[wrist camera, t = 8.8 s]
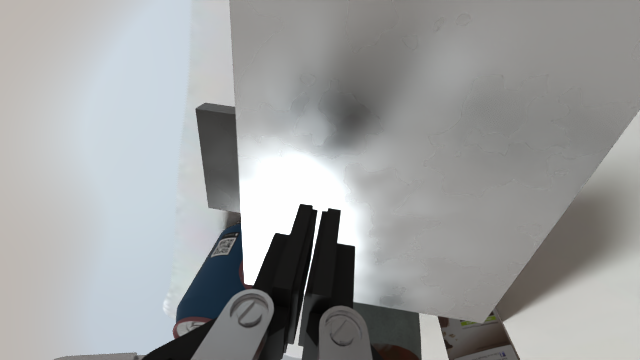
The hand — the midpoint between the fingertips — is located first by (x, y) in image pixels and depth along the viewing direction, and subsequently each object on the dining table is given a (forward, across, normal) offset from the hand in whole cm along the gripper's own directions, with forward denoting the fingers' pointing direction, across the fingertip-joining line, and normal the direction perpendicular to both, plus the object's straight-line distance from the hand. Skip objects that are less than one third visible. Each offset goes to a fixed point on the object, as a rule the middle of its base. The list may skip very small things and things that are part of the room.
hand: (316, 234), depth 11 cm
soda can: (+15, +8, +17) cm, 24 cm away
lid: (+5, -3, 0) cm, 6 cm away
